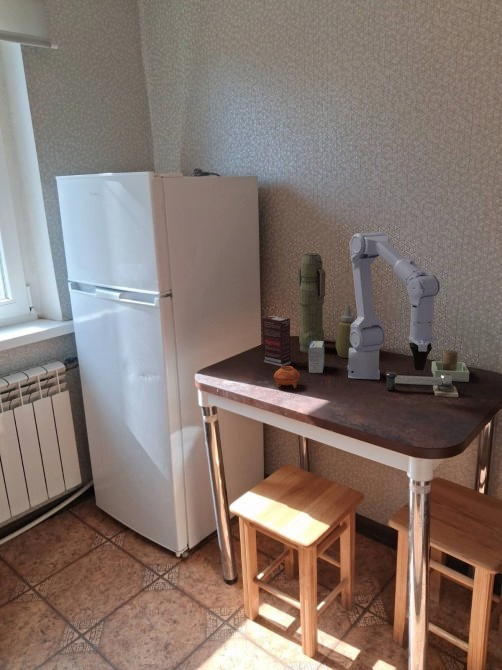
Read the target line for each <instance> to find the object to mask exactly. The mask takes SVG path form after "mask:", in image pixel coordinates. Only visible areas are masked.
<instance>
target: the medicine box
mask: <svg viewBox="0 0 502 670" xmlns="http://www.w3.org/2000/svg"><path fill="white" fill-rule="evenodd" d="M324 368H325V340H324V341H311V344H310V347H309V353H308V372H309V373H311V374H323V372H324Z"/></svg>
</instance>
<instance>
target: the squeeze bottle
mask: <svg viewBox="0 0 502 670" xmlns="http://www.w3.org/2000/svg"><path fill="white" fill-rule="evenodd" d="M354 321H355V316H354V315H353V314H352V313H351V306H350V305H348V304H347V305H345V309H344V313H343V315H341V316H340V321H339V322H338V323H337V331H336V339H335V348H336V352H337V355H338V356H339V357H340V358H344V359H345V358H346V359H349V348H353V346H352V344H351V342H350V333H351V327H350V325H351V324H352V323H353V322H354Z"/></svg>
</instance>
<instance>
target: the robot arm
mask: <svg viewBox="0 0 502 670" xmlns="http://www.w3.org/2000/svg"><path fill="white" fill-rule="evenodd" d="M390 239H391V238H390V236H388V235H387V234H386V233H385V232H384V231H377V232H365V233H364V232H363V233H359V232H357V233H354V234H353V235H352V236H351V238H350V240H349V242H348V244H349V245H348V246H349V256H350V262H351V265H352V266H351V267H352V277H353V284H354V285H353V287H354V297H355V305H356V317H357V318H356V319H354V322H353V323H352V324H351V325H350V327H351V333H350V342H351V344H352V346H353V348H349V358H348V364H347V371H348V373H347V374H348V377H347V378H348V379H353V380H354V379H357V380H358V379H359V380H375V381H376V380H381V374H380V373H381V372H380V370H379V367H380V365H379V364H380V349H381V348H382V345H384V344H385V342H386V337H387V335H386V332H385V328H384V327H383V321H382V320H380V318H378V317H376V313H375V311H376V310H375V301H374V289H373V282H372V271H371V270H372V268H371V265H372V263H373V262H374V261H376V260H377V259H378V258H379V257H381V258H382V260H384V261H385V262H387V264H389V265H390V266H391V267H393V273H394V275H395V276H396V277H397V278H398V279H399V280H400V281H401V282H402V283H403V284H404V286H406V291H407V294H408V296H409V297H408V298H409V304H410V321H409V323H410V327H409V335H408V340H409V341H410V342H409V343H408V344H409V345H408V346H409V348H410V350H411V353H412V357H413V365H414V370H415V371H422V372H423V371H424V369H425V366H426V362H427V359H428V356H429V354H430V353H431V351H432V349H433V347H432V342H434V341H437V340H438V338H437V336H436V335H433V328H434V327H433V325H434V312H435V311H434V308H435V297H436V296H438V294H439V292H440V291H441V283H440V280H439V278H438V277H437V276H436V275H435V274H431V273H430V274H428V273H426V272H425V270H423V269H422V268H420V267H419V265H417V264H416V263H415V259H413V258H404V257H402V255H401V254H400V253H399V252H398V250H397V249H396V248H395V247H394V246H393V245H392V244H391V241H390Z"/></svg>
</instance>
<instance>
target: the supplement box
mask: <svg viewBox="0 0 502 670" xmlns="http://www.w3.org/2000/svg"><path fill="white" fill-rule="evenodd" d="M262 338H263V339H262V340H263V343H262V344H263V345H262V346H263V362H264V363H267V364H269V365H273V366H274V365H275V366H278V367H283V366H289V365H290V364H291V358H292V357H291V319H290V318H289V317H283V316H277V315H267V316H263V317H262Z"/></svg>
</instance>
